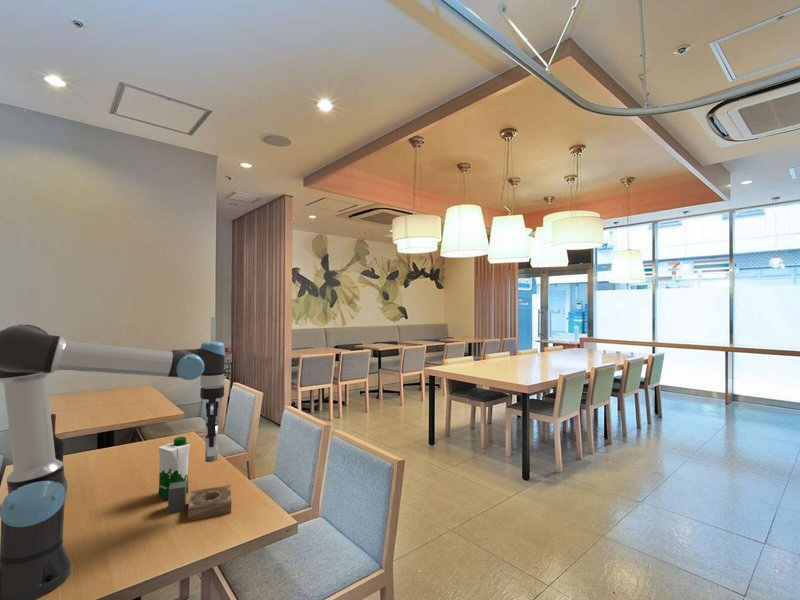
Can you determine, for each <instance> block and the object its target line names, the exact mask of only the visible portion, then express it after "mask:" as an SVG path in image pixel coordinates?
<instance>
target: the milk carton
mask: <svg viewBox="0 0 800 600" xmlns="http://www.w3.org/2000/svg"><path fill="white" fill-rule="evenodd" d="M191 445H192V444H190V443H187V437H186V436H180V437H179V436H178V437H175V438H174V439H173V442H170V443H167V444H164V445H161V446H159V447H157V448H158V455H159V456H158V457H159V470H158V471H159V475H158V477H159V479H158V480H159V482H158V494H157V495H158V497H160V498H164V499H165V500H168V494H169V486H170V483H176V482H183V481H186V494H188V493H189V481H188V480H189V479H188V477H189V454H190V449H191Z"/></svg>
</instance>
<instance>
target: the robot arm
mask: <svg viewBox="0 0 800 600" xmlns="http://www.w3.org/2000/svg"><path fill="white" fill-rule="evenodd" d="M225 360H226V351H225V344H224V342H221V341H205V342H201V345H200V348H199V347H198V348H192V349H191V348H189V349H171V350H158V349H150V348H149V349H147V348H139V347H129V346H119V345H109V344H100V343H90V342H80V341H71V340H66V339H65V338H64V337H63V336H62V335H53V334H49V333H48V332H47V331H46V330H45V329H43V328H42V327H39V326H36V325H33V324H16V325H11V326H9V327H6V328H4V329H1V330H0V383H2V384H3V387H4V396H5V404H6V406H5V407H6V414H7V423H8V433H9V439H10V441H9V442H10V449H11V450H10V451H11V458H12V465H13V466H12V468H13V470H12V471H11V473H10V474H9V475H7V477H6V487H7V494H8V495H6V496H5V498H4V499H3V501H2V503H1V507H0V600H35V599H38V598H41V597H42V596H45V595H46V594H49V593H51V592H52V591H53V590H55V589H57V588H58V587H60V586H61V585H62V584H63V583H64V582H65V581H66V580H67V579H68V578H69V576H70V575H71V570H72V568H71V567H72V565H71V563H72V562H71V559H70V557H69V555H68V552H67V550H66V548H65V546H64V521H65V520H64V519H65V517H64V515H65V503H66V498H67V491H68V480H67V479H66V476H65V469H64V467H65V465H64V461H63V462H62V461H59V460H57V459H56V458H55V449H54V440H53V431H52V421H51V414H52V412H51V404H50V394H49V385H48V376H49V375H50V374H53V373H55V372H56V371H75V372H76V371H77V372H88V373H91V372H92V373H104V374H105V373H107V374H108V373H109V374H120V375H121V374H122V375H136V376H137V375H138V376H149V377H150V376H152V377H153V376H154V377H166V378H167V377H168V378H180V379H182V380H186V381H193V380H196V379H197V378H199V377H200V396H199V397H200V399H201V400H204V401H205V400H208V402H207V401H206V402H205V410H206V418H207V422H208V435H207V436H206V435H205V436H204V439H205V438H207V457H208V456H216V434H215V432H216V421H217V417H218V410H219V401H217V400H218V399H222V398H224V396H225V386H224V385H225V380H226V379H227V376H226V375H225V362H226V361H225Z"/></svg>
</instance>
